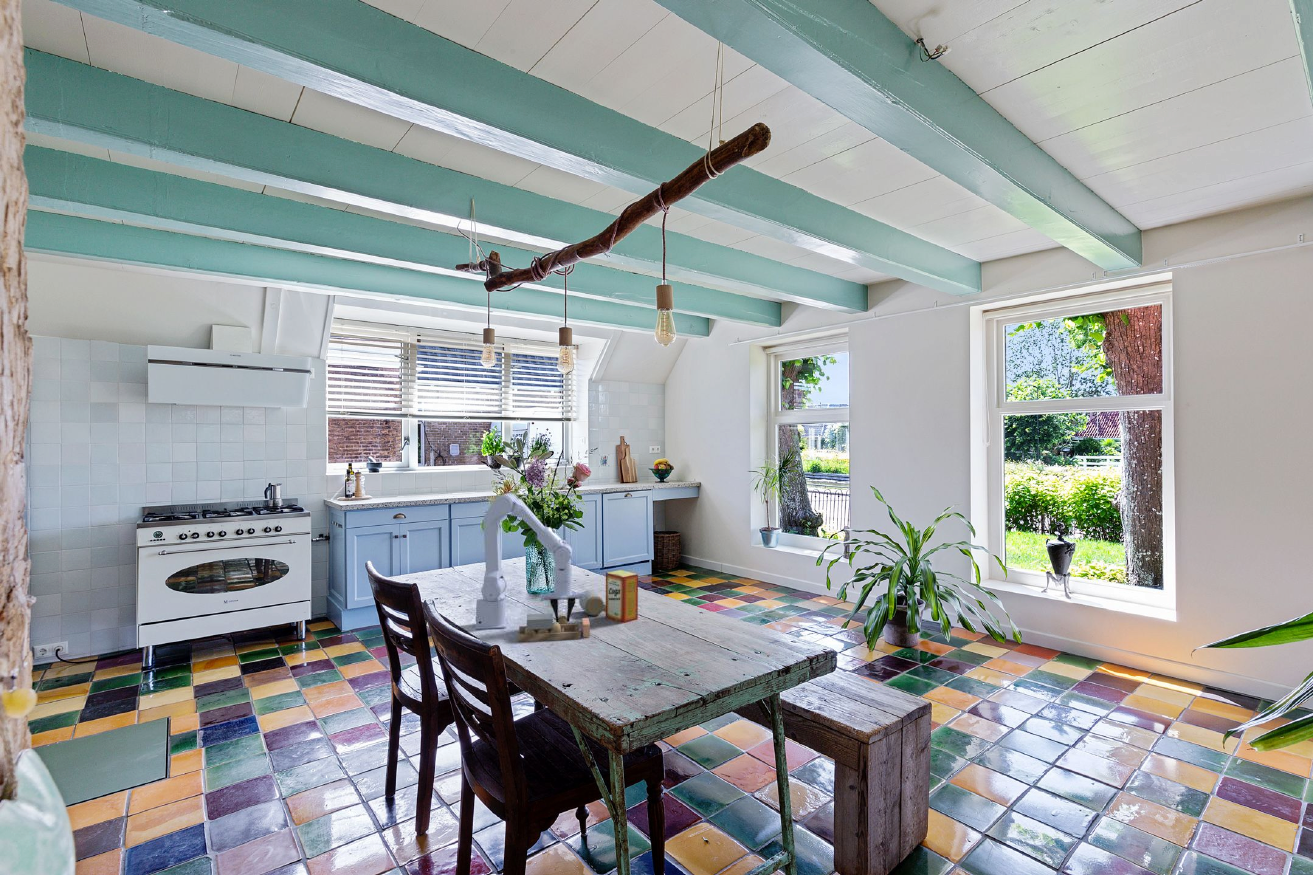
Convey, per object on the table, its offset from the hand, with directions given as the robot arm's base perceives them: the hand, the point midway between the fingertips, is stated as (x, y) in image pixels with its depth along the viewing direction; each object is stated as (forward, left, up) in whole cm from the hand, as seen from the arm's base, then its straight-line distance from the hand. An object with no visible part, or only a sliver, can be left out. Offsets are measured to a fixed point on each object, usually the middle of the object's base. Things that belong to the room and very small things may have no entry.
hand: (562, 621), depth 211 cm
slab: (-8, -10, +2) cm, 13 cm away
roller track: (-5, -10, -1) cm, 11 cm away
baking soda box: (+20, +5, -2) cm, 21 cm away
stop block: (+7, -10, -1) cm, 12 cm away
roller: (0, 0, -1) cm, 1 cm away
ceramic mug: (+12, +13, -2) cm, 18 cm away
